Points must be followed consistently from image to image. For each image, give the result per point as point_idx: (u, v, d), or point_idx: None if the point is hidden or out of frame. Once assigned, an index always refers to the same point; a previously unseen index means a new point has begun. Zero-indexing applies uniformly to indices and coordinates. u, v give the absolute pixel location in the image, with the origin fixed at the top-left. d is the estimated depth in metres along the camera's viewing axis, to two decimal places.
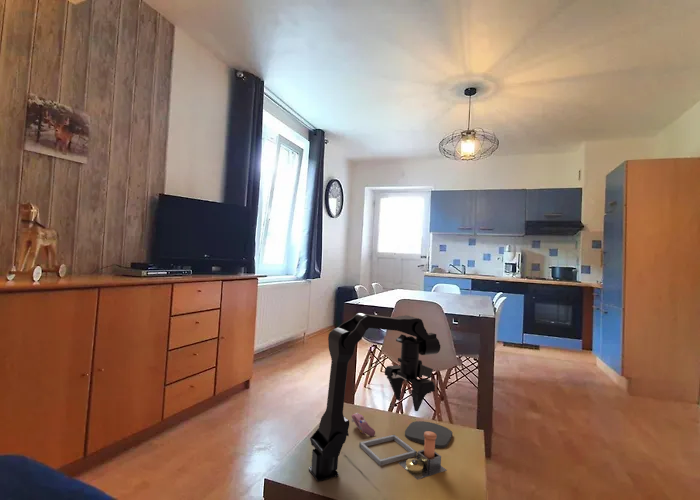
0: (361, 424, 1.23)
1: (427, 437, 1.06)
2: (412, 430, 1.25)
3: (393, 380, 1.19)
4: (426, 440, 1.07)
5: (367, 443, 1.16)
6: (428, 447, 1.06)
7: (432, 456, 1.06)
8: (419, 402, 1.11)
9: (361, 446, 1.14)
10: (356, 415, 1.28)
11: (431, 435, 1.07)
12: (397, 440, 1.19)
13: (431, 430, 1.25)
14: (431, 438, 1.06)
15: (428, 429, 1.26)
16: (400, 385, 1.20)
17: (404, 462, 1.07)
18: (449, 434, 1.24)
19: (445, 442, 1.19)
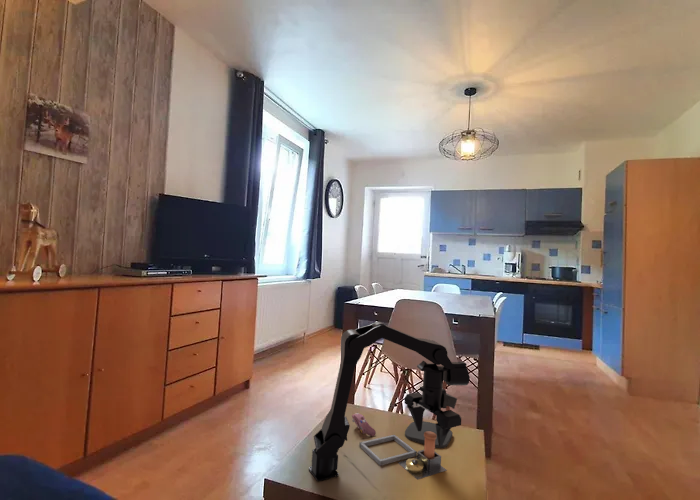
0: (362, 424, 1.23)
1: (427, 437, 1.06)
2: (412, 430, 1.25)
3: (414, 410, 1.11)
4: (426, 440, 1.07)
5: (367, 443, 1.16)
6: (428, 447, 1.06)
7: (432, 456, 1.06)
8: (444, 436, 1.03)
9: (361, 446, 1.14)
10: (357, 415, 1.28)
11: (431, 435, 1.07)
12: (397, 440, 1.19)
13: (431, 430, 1.25)
14: (431, 438, 1.06)
15: (428, 429, 1.26)
16: (421, 415, 1.12)
17: (404, 462, 1.07)
18: (449, 434, 1.24)
19: (445, 442, 1.19)
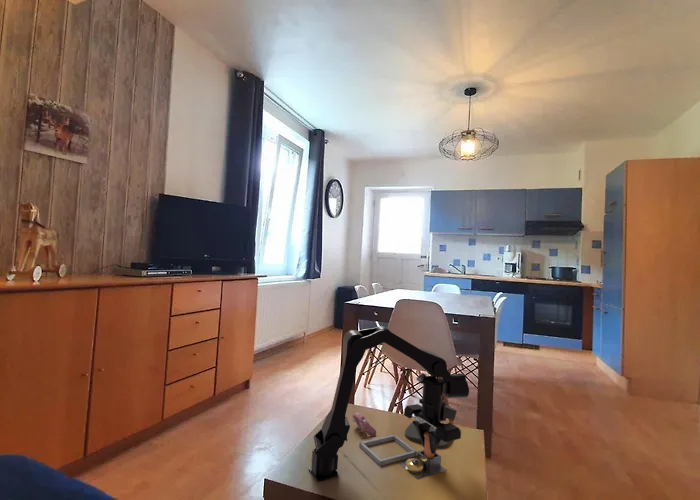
0: (362, 424, 1.24)
1: (427, 437, 1.06)
2: (412, 430, 1.25)
3: (420, 426, 1.08)
4: (426, 440, 1.07)
5: (367, 443, 1.16)
6: (428, 447, 1.06)
7: (432, 456, 1.06)
8: (436, 444, 1.05)
9: (361, 446, 1.14)
10: (357, 415, 1.28)
11: None
12: (397, 440, 1.19)
13: (431, 430, 1.25)
14: None
15: None
16: None
17: (404, 462, 1.07)
18: None
19: (445, 442, 1.19)
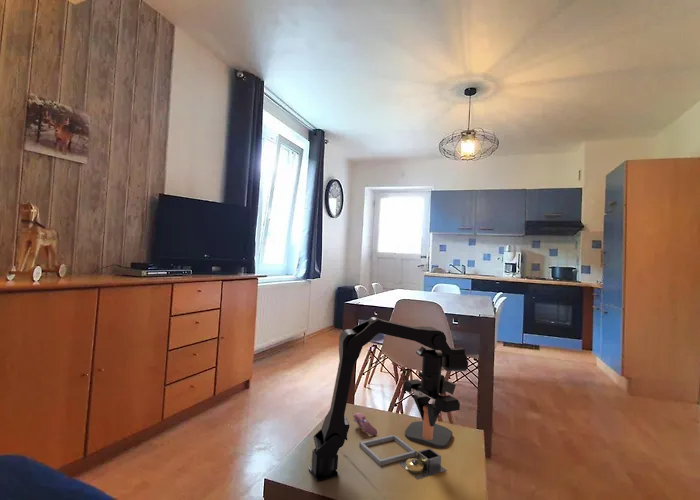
0: (363, 424, 1.24)
1: (426, 410, 1.07)
2: (412, 430, 1.25)
3: (419, 399, 1.09)
4: (425, 413, 1.07)
5: (367, 443, 1.16)
6: (427, 420, 1.07)
7: (431, 429, 1.07)
8: (435, 417, 1.06)
9: (361, 446, 1.14)
10: (358, 415, 1.28)
11: None
12: (397, 440, 1.19)
13: None
14: None
15: None
16: None
17: (404, 462, 1.07)
18: (449, 434, 1.24)
19: (445, 442, 1.19)
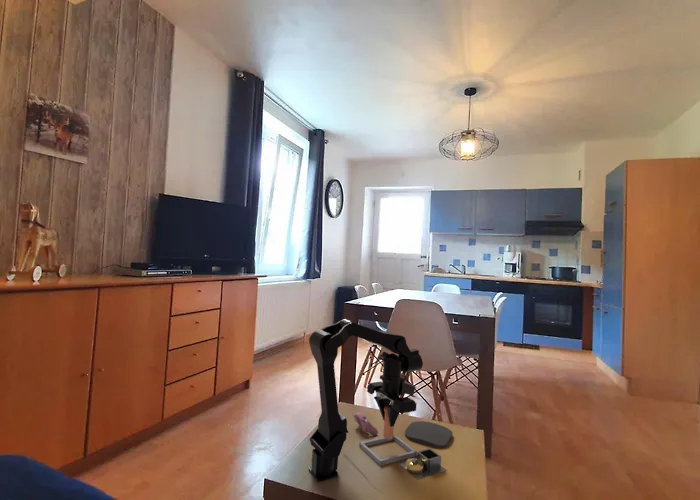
0: (364, 423, 1.24)
1: (386, 411, 1.12)
2: (412, 430, 1.25)
3: (380, 401, 1.15)
4: (386, 414, 1.13)
5: (367, 443, 1.16)
6: (387, 420, 1.12)
7: (391, 429, 1.12)
8: (394, 417, 1.11)
9: (361, 446, 1.14)
10: (359, 414, 1.28)
11: None
12: (397, 440, 1.19)
13: (431, 430, 1.25)
14: None
15: (428, 429, 1.26)
16: None
17: (404, 462, 1.07)
18: (449, 434, 1.24)
19: (445, 442, 1.19)
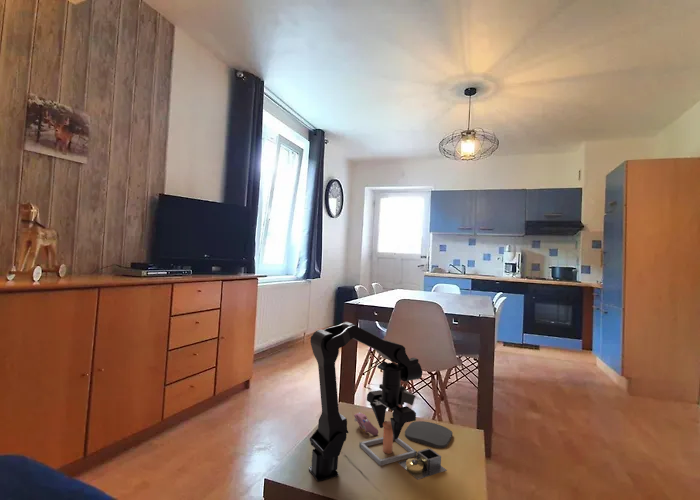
0: (364, 423, 1.24)
1: (385, 426, 1.12)
2: (412, 430, 1.25)
3: (376, 407, 1.16)
4: (384, 429, 1.13)
5: (367, 443, 1.16)
6: (386, 435, 1.12)
7: (390, 444, 1.12)
8: (398, 430, 1.09)
9: (361, 446, 1.14)
10: (359, 414, 1.28)
11: (389, 424, 1.13)
12: (397, 440, 1.19)
13: (431, 430, 1.25)
14: (389, 427, 1.12)
15: (428, 429, 1.26)
16: (383, 412, 1.18)
17: (404, 462, 1.07)
18: (449, 434, 1.24)
19: (445, 442, 1.19)
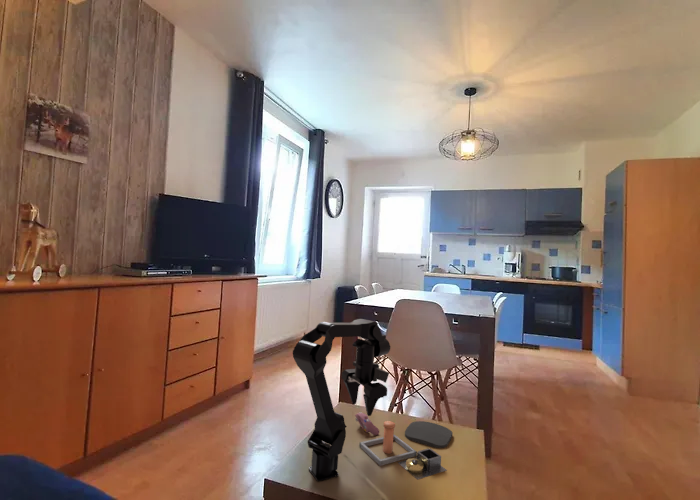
0: (365, 423, 1.24)
1: (386, 426, 1.12)
2: (412, 430, 1.25)
3: (349, 384, 1.18)
4: (385, 429, 1.13)
5: (367, 443, 1.16)
6: (386, 435, 1.12)
7: (390, 444, 1.12)
8: (372, 407, 1.09)
9: (361, 446, 1.14)
10: (360, 414, 1.28)
11: (390, 424, 1.13)
12: (397, 440, 1.19)
13: (431, 430, 1.25)
14: (389, 427, 1.12)
15: (428, 429, 1.26)
16: (356, 389, 1.19)
17: (404, 462, 1.07)
18: (449, 434, 1.24)
19: (445, 442, 1.19)
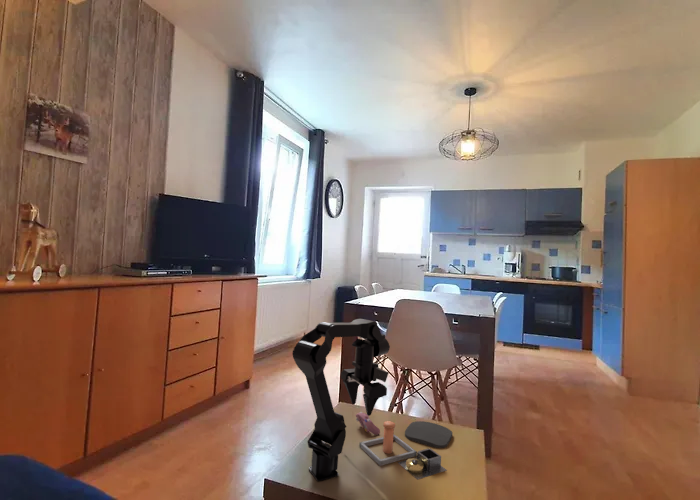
0: (366, 423, 1.24)
1: (386, 426, 1.12)
2: (412, 430, 1.25)
3: (348, 384, 1.18)
4: (385, 429, 1.13)
5: (367, 443, 1.16)
6: (386, 435, 1.12)
7: (390, 444, 1.12)
8: (371, 406, 1.10)
9: (361, 446, 1.14)
10: (361, 414, 1.29)
11: (390, 424, 1.13)
12: (397, 440, 1.19)
13: (431, 430, 1.25)
14: (389, 427, 1.12)
15: (428, 429, 1.26)
16: (356, 389, 1.19)
17: (404, 462, 1.07)
18: (449, 434, 1.24)
19: (445, 442, 1.19)
